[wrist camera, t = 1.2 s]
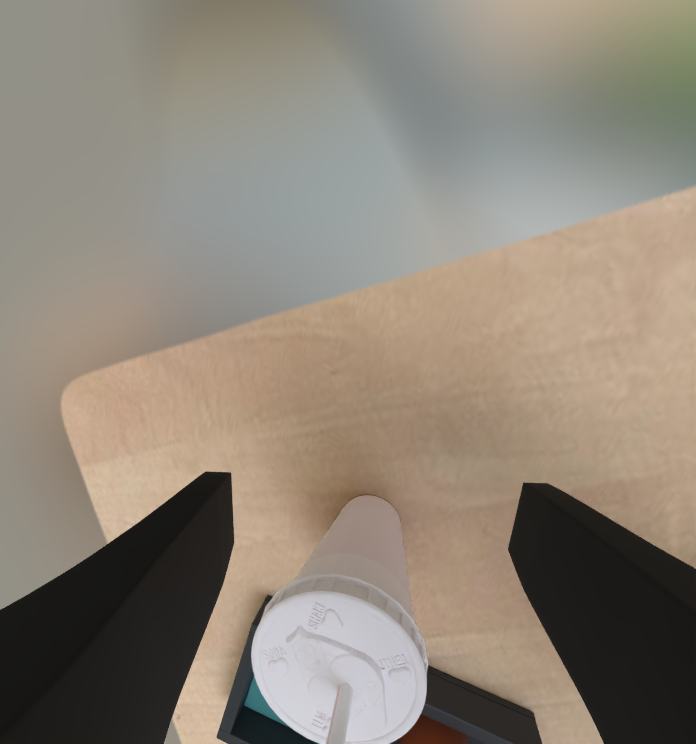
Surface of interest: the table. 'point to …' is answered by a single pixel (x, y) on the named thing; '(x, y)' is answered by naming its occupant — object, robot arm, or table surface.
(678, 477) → the table surface
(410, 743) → the spice pot
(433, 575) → the table surface
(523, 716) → the holder
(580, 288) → the table surface
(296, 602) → the smoothie
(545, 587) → the robot arm
